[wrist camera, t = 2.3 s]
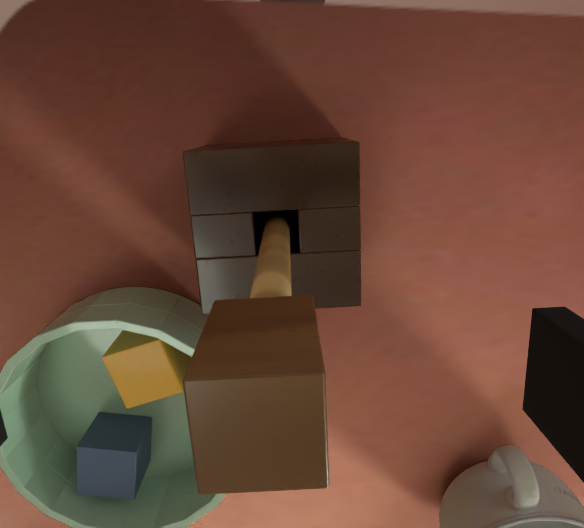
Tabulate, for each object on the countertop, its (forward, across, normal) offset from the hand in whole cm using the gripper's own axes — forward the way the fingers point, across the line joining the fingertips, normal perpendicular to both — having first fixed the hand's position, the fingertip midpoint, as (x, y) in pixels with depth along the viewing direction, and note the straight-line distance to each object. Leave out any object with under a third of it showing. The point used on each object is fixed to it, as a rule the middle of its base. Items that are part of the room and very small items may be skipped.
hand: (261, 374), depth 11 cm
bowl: (+22, -11, -13) cm, 27 cm away
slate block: (+21, -13, -16) cm, 29 cm away
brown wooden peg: (+21, 0, 0) cm, 21 cm away
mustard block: (+21, -9, -9) cm, 24 cm away
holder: (+21, 0, 0) cm, 21 cm away
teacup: (+22, +16, -23) cm, 35 cm away
